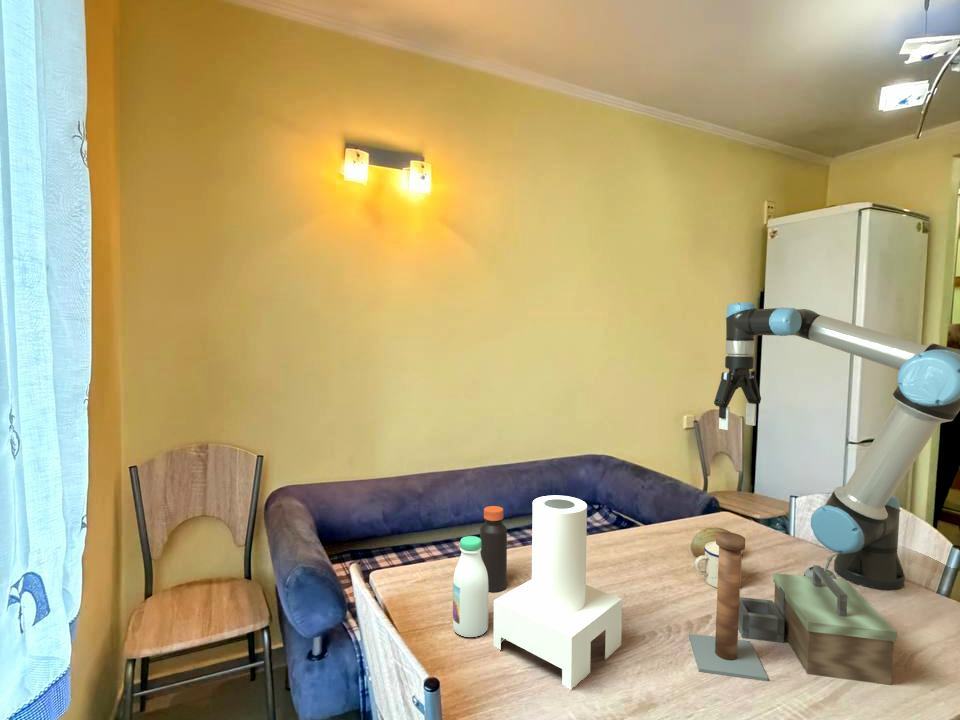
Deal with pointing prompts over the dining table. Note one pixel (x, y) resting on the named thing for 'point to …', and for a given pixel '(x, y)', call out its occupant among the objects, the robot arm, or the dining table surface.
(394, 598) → the dining table surface
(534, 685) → the dining table surface
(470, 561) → the milk bottle
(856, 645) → the toolbox
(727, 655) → the wooden pepper mill
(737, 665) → the rubber mat
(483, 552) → the vinegar
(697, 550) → the bread roll
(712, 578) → the teacup with lid
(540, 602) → the paper towel holder
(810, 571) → the mate gourd
